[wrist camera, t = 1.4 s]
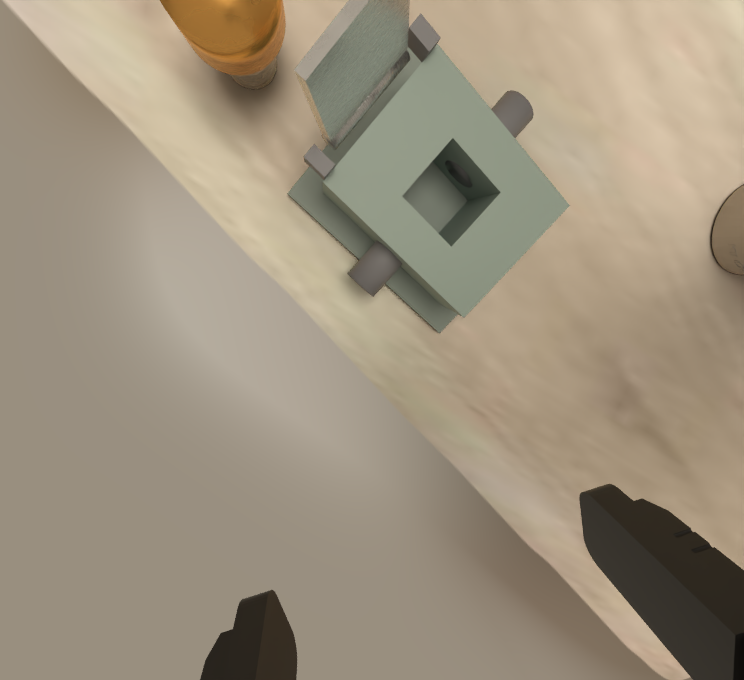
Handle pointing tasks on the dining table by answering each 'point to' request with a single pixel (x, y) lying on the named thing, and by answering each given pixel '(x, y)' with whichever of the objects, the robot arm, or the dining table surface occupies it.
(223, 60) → the orange domed cylinder
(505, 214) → the grey-green knobbed device
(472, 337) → the dining table surface
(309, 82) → the bar
